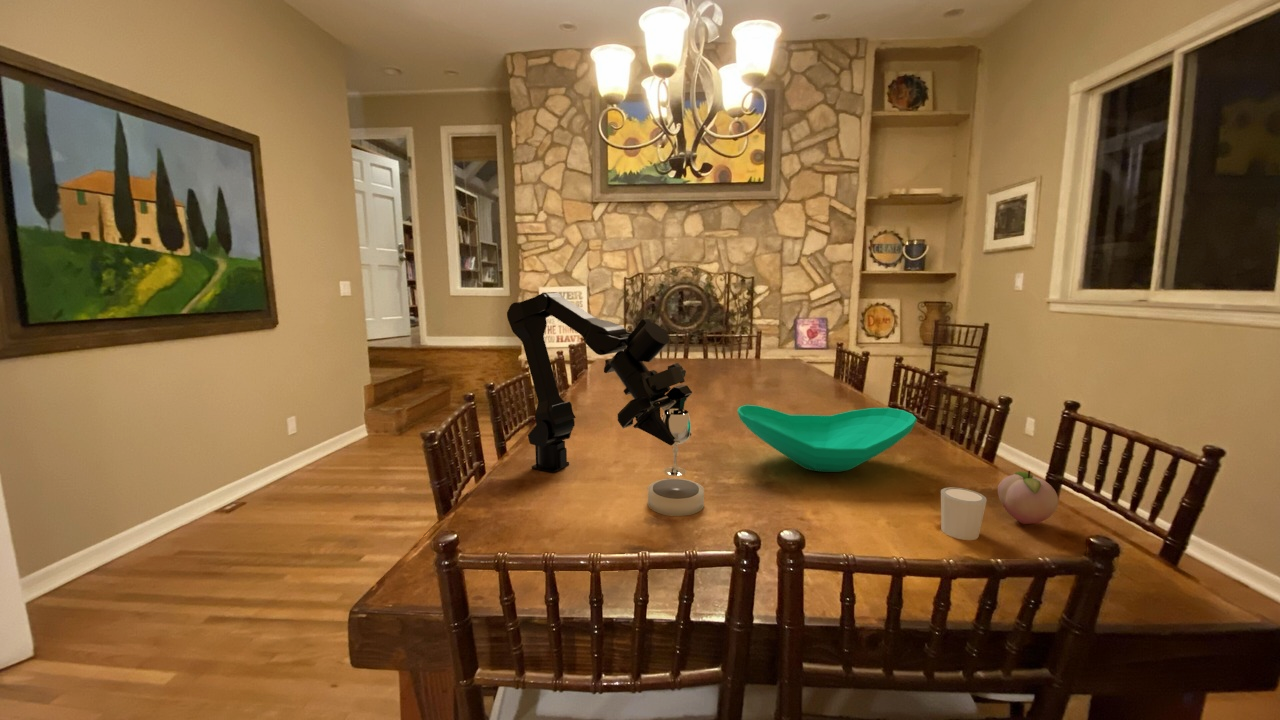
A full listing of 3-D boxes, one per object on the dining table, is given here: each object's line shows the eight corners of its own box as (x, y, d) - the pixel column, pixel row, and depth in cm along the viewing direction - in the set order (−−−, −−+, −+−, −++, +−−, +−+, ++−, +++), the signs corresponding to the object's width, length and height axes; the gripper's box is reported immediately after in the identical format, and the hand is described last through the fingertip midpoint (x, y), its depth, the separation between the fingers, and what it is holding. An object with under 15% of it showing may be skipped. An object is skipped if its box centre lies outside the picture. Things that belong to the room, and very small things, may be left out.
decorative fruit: (1066, 538, 90) (1073, 482, 89) (1013, 534, 92) (1019, 479, 90) (1035, 514, 99) (1042, 463, 98) (988, 510, 101) (993, 460, 99)
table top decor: (742, 487, 112) (744, 426, 110) (730, 446, 139) (731, 397, 137) (937, 493, 109) (942, 431, 107) (885, 450, 136) (889, 400, 134)
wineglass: (692, 476, 100) (694, 415, 98) (663, 477, 99) (664, 416, 98) (685, 465, 106) (687, 407, 104) (657, 466, 105) (658, 408, 103)
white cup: (928, 524, 95) (931, 487, 94) (964, 522, 96) (968, 486, 95) (954, 542, 89) (958, 503, 87) (992, 541, 89) (996, 502, 88)
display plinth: (638, 509, 101) (638, 492, 101) (661, 488, 111) (661, 473, 110) (692, 520, 96) (692, 503, 96) (711, 498, 106) (711, 482, 106)
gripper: (630, 356, 94) (682, 427, 89) (685, 346, 109) (731, 406, 104) (596, 393, 100) (643, 462, 95) (653, 378, 115) (695, 437, 110)
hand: (681, 440), depth 101 cm, fingers closed on wineglass, 6 cm apart
